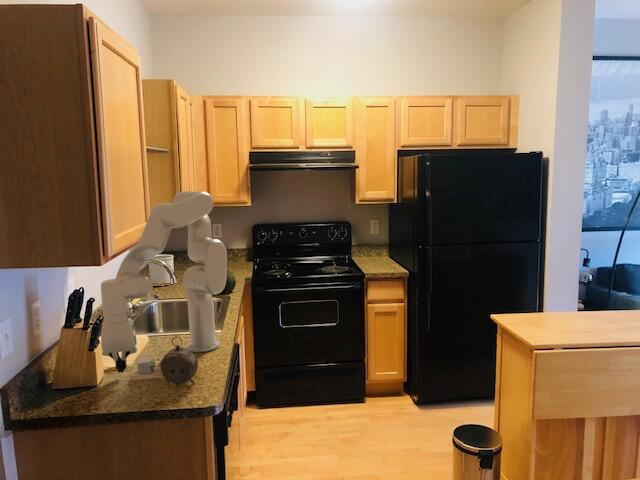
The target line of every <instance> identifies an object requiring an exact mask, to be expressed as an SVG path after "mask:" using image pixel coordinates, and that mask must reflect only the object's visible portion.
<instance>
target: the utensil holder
mask: <svg viewBox="0 0 640 480" xmlns="http://www.w3.org/2000/svg"><path fill="white" fill-rule="evenodd" d="M152 258H157V259H160V260H163V261H165V262H166V263H167V264H168V265H169V266H170V267H171V269H172V270H173V272H174V273H175V269H174V255H173V254H158V255H156V256H154V257H152ZM148 269H149V270H148V271H149V279H150V280H151V281H152V283H158V284H161V283H169V282H170V275H169V273H168V272H167V270H166V269H165V268H164V267H162V266H160V265H158V264H155V263H149V262H148Z"/></svg>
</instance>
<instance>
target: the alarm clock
mask: <svg viewBox="0 0 640 480" xmlns="http://www.w3.org/2000/svg"><path fill="white" fill-rule="evenodd" d="M175 339H179V340H180V342H181V343H180V345H179V344H176V345H175V344H174V340H175ZM171 344H172V346H173V347H174V348H172V349H170V350H169V351H167V353H166V354H165V355H164V356H163V357H162V358H161V361H160V366H159V367H160V368H161V372H162V374H163V376H164V377H163V378H164V379H165V380H166V381H167V384H170V383H171V384H173V385H175V389H176V390H177V389H178V388H179V385H183V384H187V383H189V382H190V383H191V384H192V385H193V386H194V385H196V384H195V383H196V382H194V380H193V379H192V378H193V377H194V376H195V375H196V373H197V371H198V370H199V369H198V368H199V362H198V359H197V356H196V354H194V352H191V351H190V350H188V349H187V347H181V346H182V345H183V339H182V338H181V337H180V336H174V337H173V338H172V339H171Z"/></svg>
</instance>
